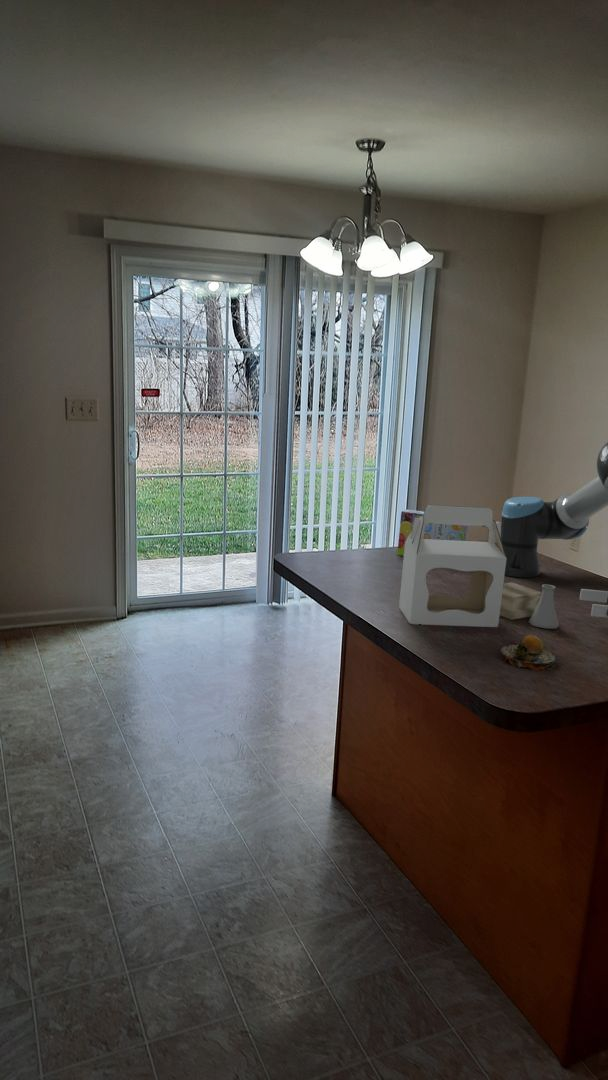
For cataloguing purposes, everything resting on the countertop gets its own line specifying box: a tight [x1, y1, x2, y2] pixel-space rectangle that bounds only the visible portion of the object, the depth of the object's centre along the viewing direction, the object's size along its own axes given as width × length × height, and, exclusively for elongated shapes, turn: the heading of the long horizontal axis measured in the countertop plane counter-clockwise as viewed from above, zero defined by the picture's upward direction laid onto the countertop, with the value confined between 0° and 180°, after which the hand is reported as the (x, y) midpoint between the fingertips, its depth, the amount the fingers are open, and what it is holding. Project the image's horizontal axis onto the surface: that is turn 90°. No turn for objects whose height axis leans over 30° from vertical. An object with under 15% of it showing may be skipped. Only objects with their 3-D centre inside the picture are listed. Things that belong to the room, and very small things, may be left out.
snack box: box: [396, 509, 468, 557], centre depth 252 cm, size 21×6×15 cm, turn 65°
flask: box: [528, 583, 559, 630], centre depth 190 cm, size 7×7×10 cm
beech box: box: [499, 582, 542, 620], centre depth 200 cm, size 10×10×6 cm
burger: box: [498, 634, 557, 671], centre depth 165 cm, size 12×12×8 cm
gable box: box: [398, 504, 507, 628], centre depth 189 cm, size 22×13×28 cm, turn 95°
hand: (585, 601), depth 189 cm, fingers open, 13 cm apart
